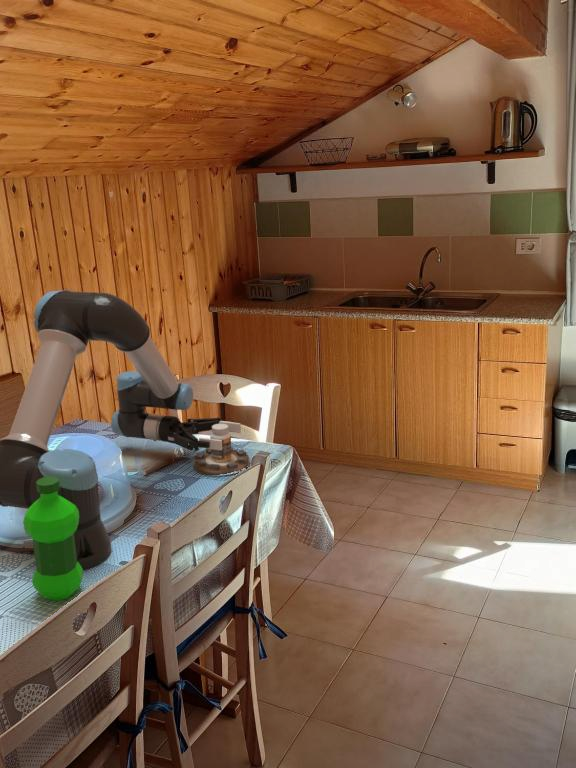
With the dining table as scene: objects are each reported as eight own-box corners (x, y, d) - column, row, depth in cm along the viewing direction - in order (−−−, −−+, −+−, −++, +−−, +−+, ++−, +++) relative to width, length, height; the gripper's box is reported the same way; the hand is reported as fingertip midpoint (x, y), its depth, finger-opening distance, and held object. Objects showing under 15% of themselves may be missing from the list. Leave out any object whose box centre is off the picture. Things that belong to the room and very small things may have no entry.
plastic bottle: (48, 577, 159) (35, 468, 152) (94, 582, 157) (84, 472, 150) (23, 604, 150) (8, 489, 143) (72, 610, 148) (60, 494, 141)
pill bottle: (228, 463, 212) (227, 430, 209) (208, 462, 213) (207, 429, 210) (233, 455, 217) (232, 423, 214) (214, 454, 218) (213, 422, 215)
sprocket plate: (240, 478, 206) (240, 470, 205) (185, 473, 210) (184, 465, 209) (255, 456, 221) (255, 448, 220) (203, 451, 224) (203, 444, 224)
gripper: (182, 425, 230) (247, 433, 224) (142, 456, 208) (213, 466, 201) (181, 402, 228) (247, 409, 222) (141, 430, 206) (212, 439, 199)
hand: (231, 436), depth 212 cm, fingers open, 13 cm apart
